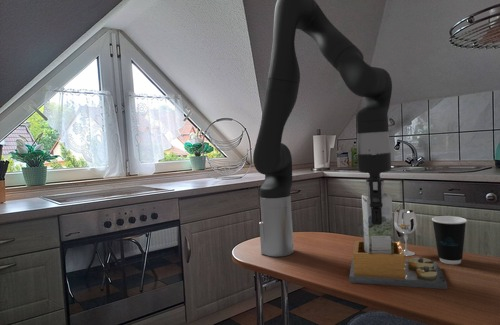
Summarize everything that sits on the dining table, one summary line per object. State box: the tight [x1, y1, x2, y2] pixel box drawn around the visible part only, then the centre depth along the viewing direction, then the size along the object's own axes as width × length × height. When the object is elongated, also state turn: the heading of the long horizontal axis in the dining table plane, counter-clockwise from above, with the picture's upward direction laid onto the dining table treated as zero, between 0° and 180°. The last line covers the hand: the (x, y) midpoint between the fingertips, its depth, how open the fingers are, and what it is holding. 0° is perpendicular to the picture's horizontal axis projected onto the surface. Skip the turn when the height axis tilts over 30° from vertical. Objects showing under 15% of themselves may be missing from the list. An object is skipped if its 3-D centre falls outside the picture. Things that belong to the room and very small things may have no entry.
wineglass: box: [393, 208, 417, 257], centre depth 99 cm, size 6×6×12 cm
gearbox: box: [348, 240, 448, 290], centre depth 85 cm, size 20×13×6 cm, turn 71°
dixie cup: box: [431, 215, 468, 265], centre depth 91 cm, size 8×8×11 cm
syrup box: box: [361, 192, 394, 254], centre depth 85 cm, size 6×6×14 cm
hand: (376, 220), depth 85 cm, fingers closed on syrup box, 6 cm apart
